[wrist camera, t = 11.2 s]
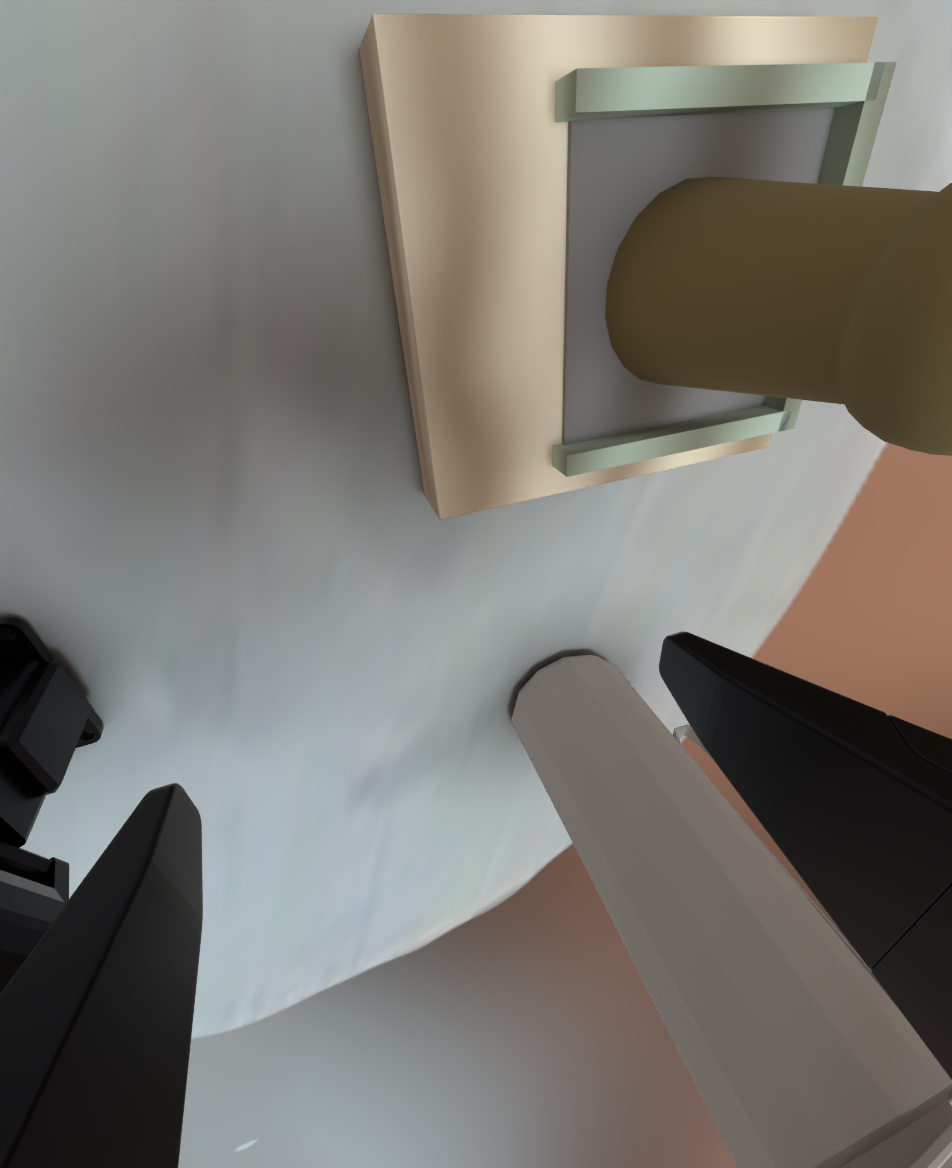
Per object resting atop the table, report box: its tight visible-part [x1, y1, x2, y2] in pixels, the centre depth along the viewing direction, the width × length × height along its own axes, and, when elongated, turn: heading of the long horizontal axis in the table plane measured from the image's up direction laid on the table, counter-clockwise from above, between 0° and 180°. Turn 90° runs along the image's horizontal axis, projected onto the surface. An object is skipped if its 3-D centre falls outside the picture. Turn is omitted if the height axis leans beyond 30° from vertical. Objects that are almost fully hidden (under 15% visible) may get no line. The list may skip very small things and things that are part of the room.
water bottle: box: [511, 655, 952, 1168], centre depth 21 cm, size 9×8×25 cm
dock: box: [359, 14, 896, 520], centre depth 17 cm, size 15×13×4 cm
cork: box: [605, 177, 952, 456], centre depth 13 cm, size 6×6×11 cm
